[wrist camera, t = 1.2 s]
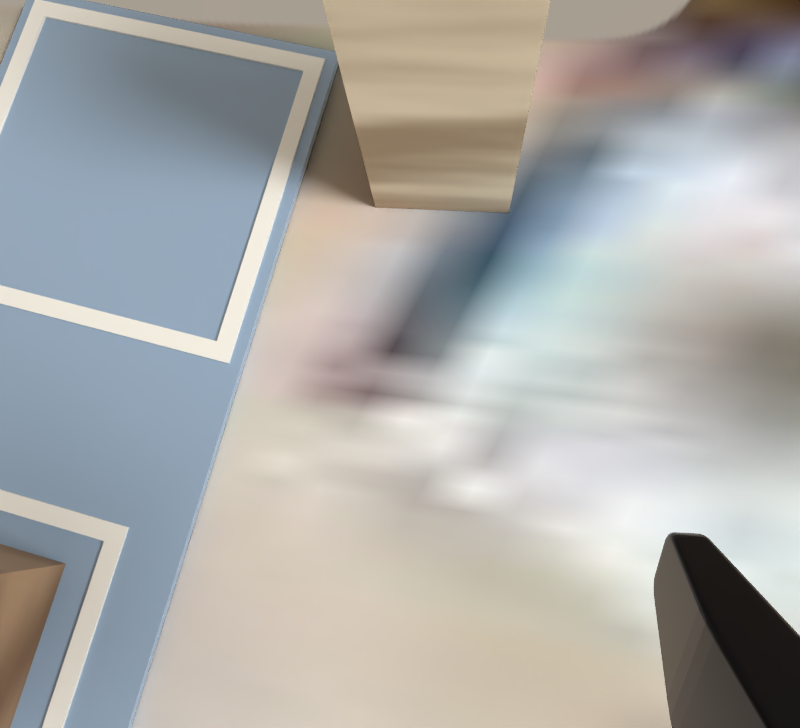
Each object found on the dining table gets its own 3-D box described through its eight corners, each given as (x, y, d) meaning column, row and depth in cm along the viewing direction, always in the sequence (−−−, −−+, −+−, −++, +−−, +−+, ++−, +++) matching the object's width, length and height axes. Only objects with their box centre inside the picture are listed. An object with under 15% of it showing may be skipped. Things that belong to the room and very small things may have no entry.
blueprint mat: (103, 817, 21) (96, 822, 21) (-245, 696, 23) (-257, 700, 22) (340, 57, 26) (338, 50, 25) (35, -6, 27) (29, -13, 27)
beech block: (508, 212, 24) (562, -63, 12) (375, 207, 25) (305, -66, 13) (514, 90, 25) (570, -277, 13) (385, 86, 25) (328, -273, 14)
